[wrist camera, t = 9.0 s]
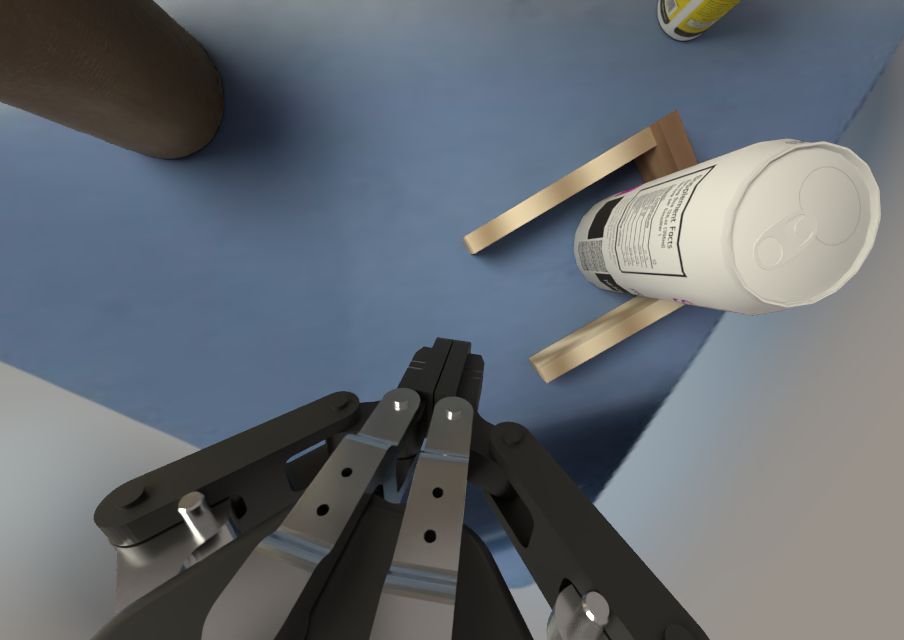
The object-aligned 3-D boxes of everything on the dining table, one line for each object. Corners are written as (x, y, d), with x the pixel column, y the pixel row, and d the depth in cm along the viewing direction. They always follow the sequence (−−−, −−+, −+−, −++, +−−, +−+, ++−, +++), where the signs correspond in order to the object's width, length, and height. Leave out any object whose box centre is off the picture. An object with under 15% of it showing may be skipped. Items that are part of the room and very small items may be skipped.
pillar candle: (246, 70, 25) (-31, -213, 10) (193, 185, 26) (-123, 84, 11) (119, -10, 24) (-408, -465, 9) (70, 116, 25) (-467, -101, 10)
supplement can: (628, 175, 28) (847, 81, 13) (676, 252, 29) (920, 245, 15) (552, 235, 28) (681, 209, 14) (602, 308, 30) (767, 355, 15)
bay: (536, 371, 31) (551, 387, 27) (461, 238, 28) (466, 235, 24) (702, 275, 30) (743, 278, 26) (641, 130, 27) (677, 109, 23)
